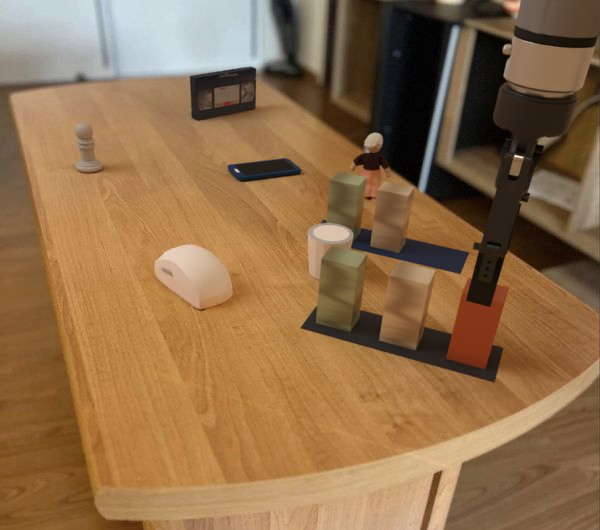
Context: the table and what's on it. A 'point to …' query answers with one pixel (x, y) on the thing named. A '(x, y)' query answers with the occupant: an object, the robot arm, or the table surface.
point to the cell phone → (263, 169)
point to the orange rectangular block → (475, 328)
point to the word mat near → (428, 349)
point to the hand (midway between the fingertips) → (488, 275)
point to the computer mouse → (194, 275)
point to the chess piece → (86, 149)
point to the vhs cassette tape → (223, 92)
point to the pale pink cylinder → (326, 243)
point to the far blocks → (388, 209)
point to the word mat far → (416, 253)
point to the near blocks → (398, 305)
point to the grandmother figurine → (372, 165)
